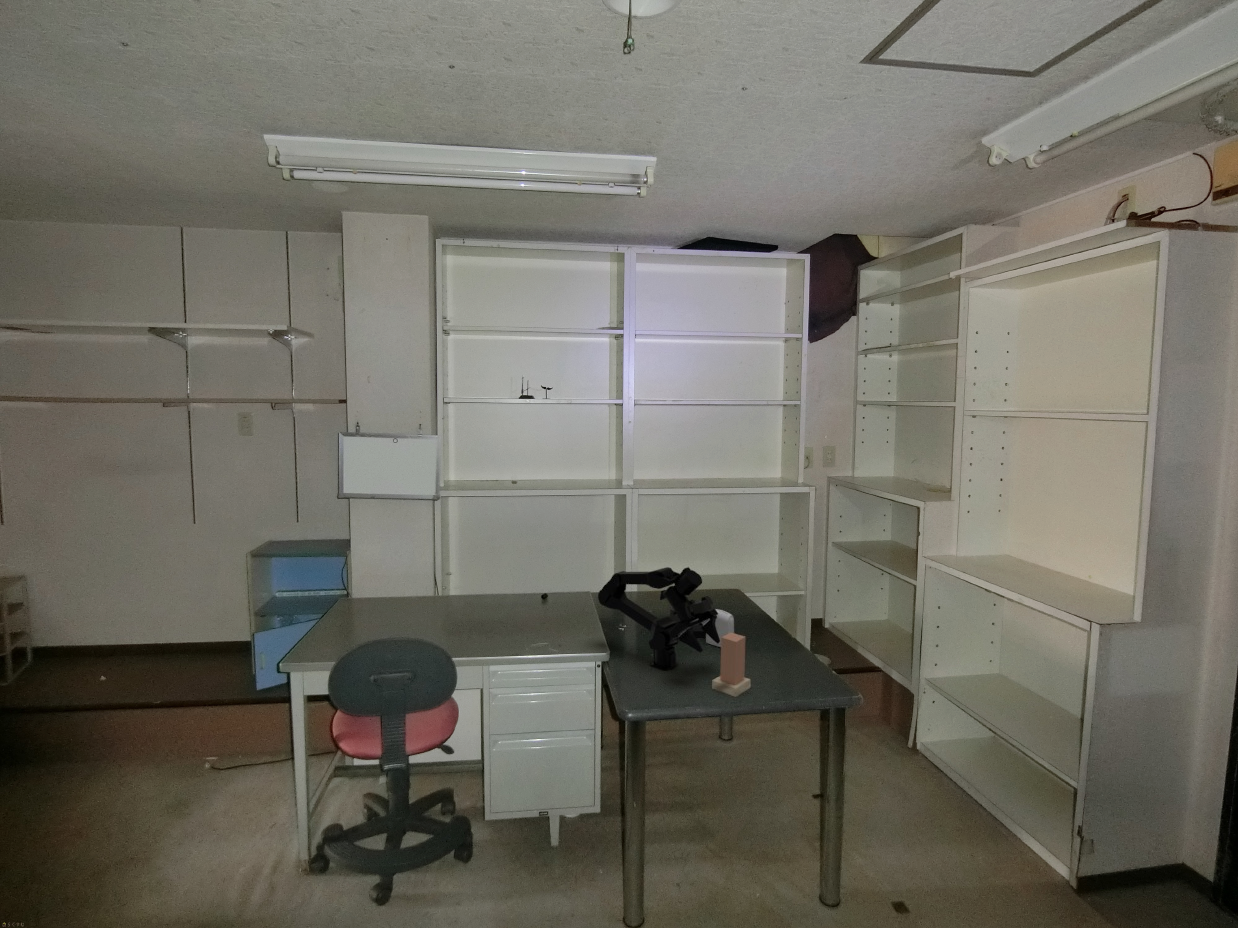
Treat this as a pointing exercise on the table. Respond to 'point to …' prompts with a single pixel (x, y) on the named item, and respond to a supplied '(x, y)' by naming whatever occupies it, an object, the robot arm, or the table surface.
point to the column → (732, 658)
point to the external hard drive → (696, 629)
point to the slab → (731, 686)
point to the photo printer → (722, 626)
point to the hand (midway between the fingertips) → (710, 646)
